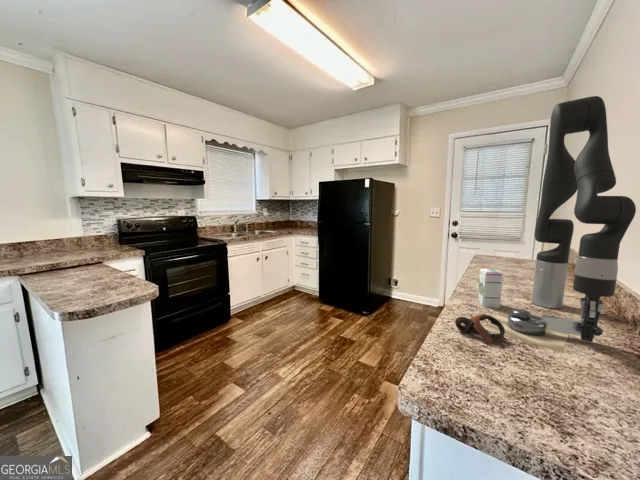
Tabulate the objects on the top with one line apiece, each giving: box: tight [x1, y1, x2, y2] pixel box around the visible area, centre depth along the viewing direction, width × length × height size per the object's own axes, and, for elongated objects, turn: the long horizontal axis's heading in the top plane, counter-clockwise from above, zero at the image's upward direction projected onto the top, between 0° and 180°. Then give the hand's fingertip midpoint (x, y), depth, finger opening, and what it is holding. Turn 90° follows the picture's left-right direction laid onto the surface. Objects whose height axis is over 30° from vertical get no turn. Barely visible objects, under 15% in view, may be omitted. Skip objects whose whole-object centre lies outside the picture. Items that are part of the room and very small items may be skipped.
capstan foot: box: [507, 308, 604, 339], centre depth 77 cm, size 21×9×5 cm, turn 60°
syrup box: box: [477, 268, 504, 309], centre depth 100 cm, size 6×6×14 cm
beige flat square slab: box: [483, 312, 570, 353], centre depth 80 cm, size 18×18×2 cm
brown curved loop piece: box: [454, 313, 505, 348], centre depth 76 cm, size 12×10×8 cm
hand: (586, 339), depth 71 cm, fingers closed
